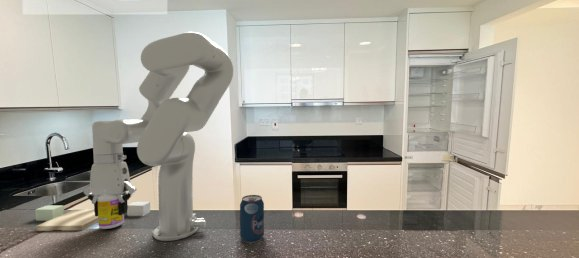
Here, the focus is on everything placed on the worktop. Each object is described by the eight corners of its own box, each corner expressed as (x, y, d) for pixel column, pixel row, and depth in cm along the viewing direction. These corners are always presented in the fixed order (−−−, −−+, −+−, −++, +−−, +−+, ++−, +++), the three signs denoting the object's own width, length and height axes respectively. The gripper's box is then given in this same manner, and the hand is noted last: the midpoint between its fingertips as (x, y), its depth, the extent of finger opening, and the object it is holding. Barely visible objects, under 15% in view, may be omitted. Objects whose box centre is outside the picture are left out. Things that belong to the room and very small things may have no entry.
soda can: (258, 245, 66) (257, 202, 66) (235, 242, 68) (235, 200, 68) (267, 234, 73) (267, 195, 72) (246, 231, 75) (246, 193, 74)
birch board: (113, 213, 89) (113, 209, 89) (82, 230, 75) (82, 225, 75) (74, 213, 89) (74, 209, 89) (35, 230, 75) (35, 226, 75)
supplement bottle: (110, 230, 73) (108, 189, 73) (93, 229, 75) (91, 188, 74) (129, 221, 80) (127, 183, 80) (112, 220, 81) (111, 182, 81)
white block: (150, 212, 90) (150, 201, 90) (143, 216, 86) (143, 205, 86) (135, 212, 91) (134, 201, 91) (127, 216, 87) (127, 205, 87)
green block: (63, 216, 86) (63, 205, 86) (52, 221, 82) (52, 209, 82) (47, 216, 86) (47, 205, 86) (35, 220, 82) (35, 209, 82)
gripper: (143, 156, 81) (145, 209, 81) (90, 158, 80) (92, 210, 81) (129, 160, 73) (131, 217, 74) (70, 162, 73) (73, 220, 73)
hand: (111, 213), depth 77 cm, fingers closed on supplement bottle, 6 cm apart
